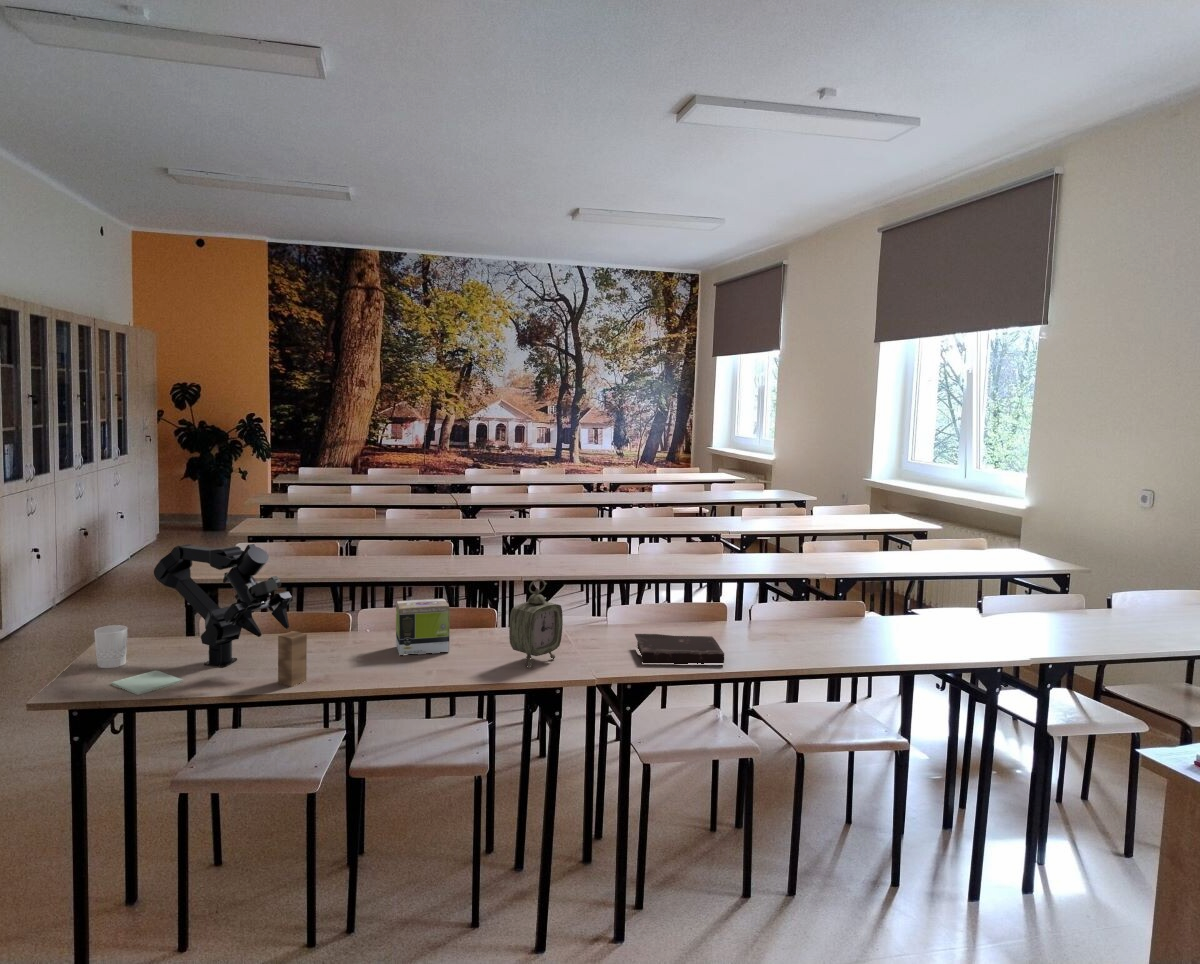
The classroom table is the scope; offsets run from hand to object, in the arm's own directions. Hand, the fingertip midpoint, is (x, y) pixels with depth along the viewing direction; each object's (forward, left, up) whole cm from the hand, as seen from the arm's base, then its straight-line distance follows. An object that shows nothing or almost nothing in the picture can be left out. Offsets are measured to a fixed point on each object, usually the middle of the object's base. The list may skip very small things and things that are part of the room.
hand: (274, 631), depth 226 cm
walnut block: (+2, +6, -13) cm, 14 cm away
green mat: (+11, -29, -13) cm, 33 cm away
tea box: (-33, +30, -13) cm, 46 cm away
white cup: (0, -47, -13) cm, 48 cm away
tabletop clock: (-30, +65, -13) cm, 73 cm away
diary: (-46, +107, -13) cm, 117 cm away
